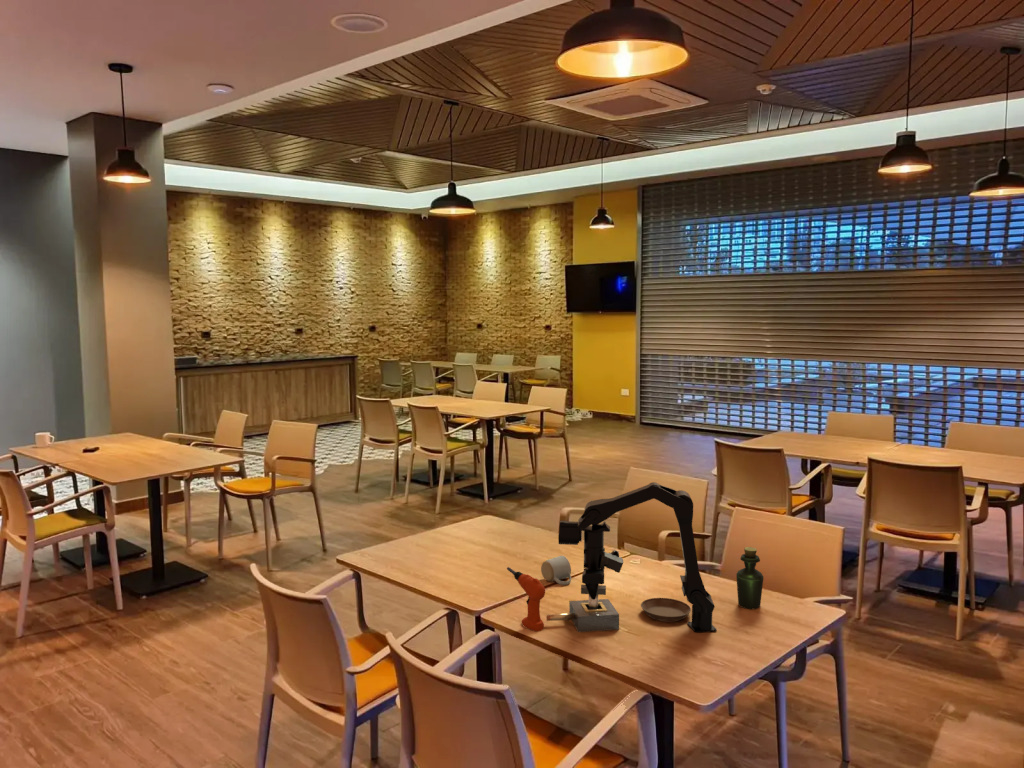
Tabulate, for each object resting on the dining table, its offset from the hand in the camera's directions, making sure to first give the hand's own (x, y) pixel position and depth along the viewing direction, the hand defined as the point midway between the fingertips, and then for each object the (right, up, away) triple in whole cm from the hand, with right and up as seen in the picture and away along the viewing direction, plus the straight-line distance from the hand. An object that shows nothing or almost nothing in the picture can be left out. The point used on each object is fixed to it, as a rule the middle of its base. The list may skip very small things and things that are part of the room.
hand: (593, 597), depth 216 cm
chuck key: (0, -5, 0) cm, 5 cm away
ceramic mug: (-8, -5, +36) cm, 37 cm away
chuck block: (-4, -8, 0) cm, 9 cm away
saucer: (+22, -8, +7) cm, 25 cm away
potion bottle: (+50, -7, +13) cm, 52 cm away
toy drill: (-20, -8, +2) cm, 22 cm away
